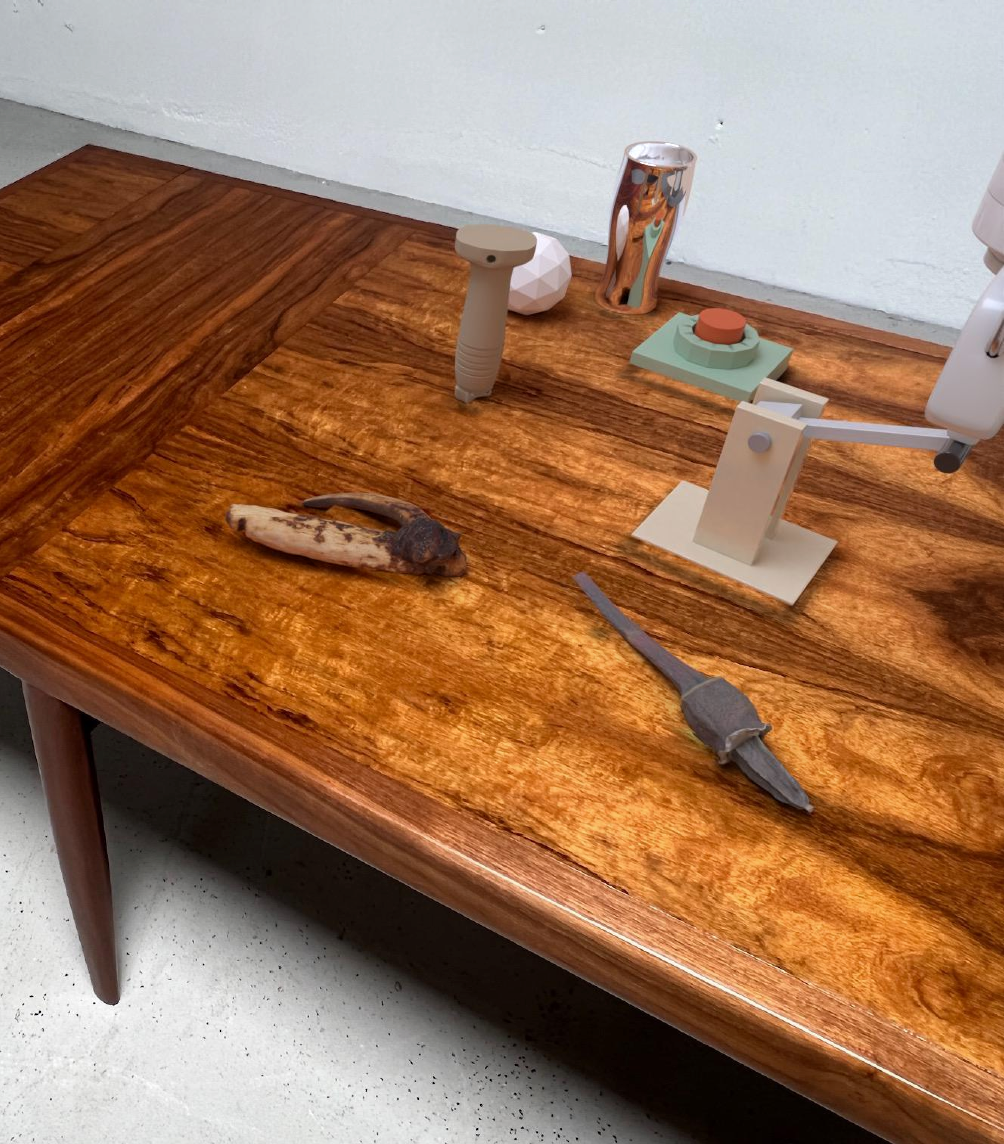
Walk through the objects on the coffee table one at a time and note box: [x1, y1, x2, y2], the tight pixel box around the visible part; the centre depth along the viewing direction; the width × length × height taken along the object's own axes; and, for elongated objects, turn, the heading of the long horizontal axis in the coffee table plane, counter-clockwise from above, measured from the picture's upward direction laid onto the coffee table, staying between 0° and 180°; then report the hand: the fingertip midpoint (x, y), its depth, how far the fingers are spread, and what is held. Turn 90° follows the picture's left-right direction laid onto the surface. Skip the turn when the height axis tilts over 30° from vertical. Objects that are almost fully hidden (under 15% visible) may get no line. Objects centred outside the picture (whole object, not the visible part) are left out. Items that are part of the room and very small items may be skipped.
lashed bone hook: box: [225, 492, 468, 577], centre depth 83 cm, size 9×5×18 cm
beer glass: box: [594, 140, 698, 316], centre depth 109 cm, size 7×7×15 cm
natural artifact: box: [572, 571, 815, 814], centre depth 71 cm, size 4×23×4 cm
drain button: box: [694, 307, 747, 345], centre depth 100 cm, size 4×4×2 cm
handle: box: [454, 223, 537, 405], centre depth 95 cm, size 5×6×15 cm
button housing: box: [629, 311, 794, 403], centre depth 102 cm, size 11×10×4 cm
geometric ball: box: [508, 231, 573, 316], centre depth 110 cm, size 8×8×8 cm
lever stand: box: [630, 377, 839, 607], centre depth 79 cm, size 12×9×13 cm
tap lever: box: [756, 401, 976, 475], centre depth 73 cm, size 13×6×2 cm, turn 49°
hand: (966, 432), depth 68 cm, fingers closed
